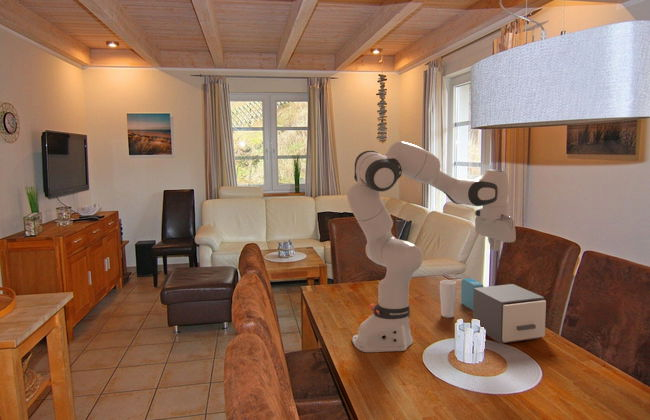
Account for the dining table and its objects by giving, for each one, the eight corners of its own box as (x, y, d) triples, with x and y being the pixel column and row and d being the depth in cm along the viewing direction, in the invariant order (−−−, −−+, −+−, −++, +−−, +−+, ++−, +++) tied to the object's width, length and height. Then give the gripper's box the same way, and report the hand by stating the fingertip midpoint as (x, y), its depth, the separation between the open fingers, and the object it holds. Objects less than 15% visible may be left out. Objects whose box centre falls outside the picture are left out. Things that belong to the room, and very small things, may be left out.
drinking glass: (457, 314, 196) (457, 280, 194) (454, 319, 190) (454, 285, 188) (441, 312, 199) (441, 279, 197) (438, 317, 193) (438, 283, 191)
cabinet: (500, 343, 166) (501, 302, 164) (472, 325, 183) (473, 288, 181) (542, 337, 170) (544, 297, 168) (511, 320, 187) (512, 283, 185)
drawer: (506, 343, 163) (507, 306, 161) (476, 324, 181) (476, 291, 180) (547, 337, 167) (548, 302, 165) (513, 319, 186) (514, 287, 184)
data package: (483, 311, 200) (484, 284, 198) (473, 311, 199) (474, 285, 197) (469, 302, 211) (470, 277, 210) (460, 303, 211) (461, 277, 209)
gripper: (520, 216, 159) (519, 255, 160) (486, 209, 178) (485, 244, 180) (505, 217, 157) (504, 256, 159) (472, 210, 177) (471, 245, 179)
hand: (494, 250), depth 170 cm, fingers closed
